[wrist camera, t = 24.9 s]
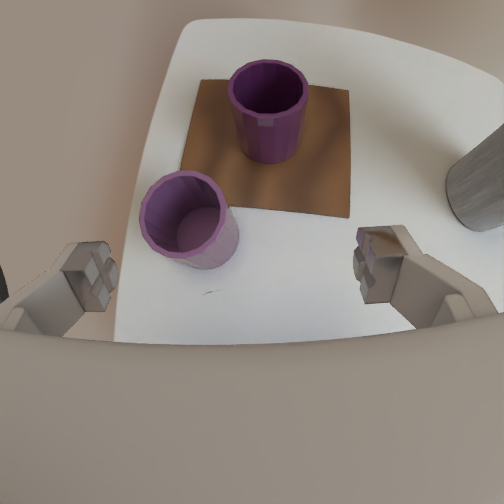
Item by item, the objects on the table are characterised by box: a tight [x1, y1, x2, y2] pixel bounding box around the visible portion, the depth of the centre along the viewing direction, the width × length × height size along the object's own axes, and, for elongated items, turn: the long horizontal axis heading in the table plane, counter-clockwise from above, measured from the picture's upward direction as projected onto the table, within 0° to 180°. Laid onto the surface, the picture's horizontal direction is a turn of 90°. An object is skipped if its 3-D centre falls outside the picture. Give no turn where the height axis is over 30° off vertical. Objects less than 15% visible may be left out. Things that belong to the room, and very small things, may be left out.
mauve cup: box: [139, 171, 239, 270], centre depth 29 cm, size 7×7×10 cm
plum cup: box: [227, 59, 308, 164], centre depth 30 cm, size 7×7×10 cm
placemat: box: [180, 80, 351, 218], centre depth 35 cm, size 20×18×1 cm
